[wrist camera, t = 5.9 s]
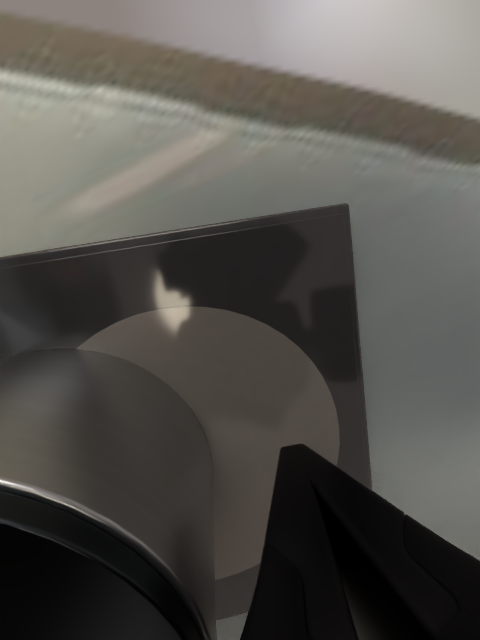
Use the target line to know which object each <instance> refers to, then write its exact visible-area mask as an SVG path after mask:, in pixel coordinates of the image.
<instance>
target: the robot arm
mask: <svg viewBox="0 0 480 640" xmlns="http://www.w3.org/2000/svg"><path fill="white" fill-rule="evenodd" d="M240 640H480V561H479V560H477V559H476V558H474V557H472V556H471V555H469V554H467V553H466V552H464V551H462V550H461V549H459V548H457V547H456V546H454V545H452V544H451V543H449V542H447V541H446V540H444V539H443V538H441V537H440V536H438V535H437V534H435V533H434V532H432V531H431V530H429V529H428V528H426V527H425V526H423V525H421V524H420V523H419V522H417V521H416V520H414V519H413V518H411V517H410V516H408V515H404V513H403V512H402V511H401V510H399V509H398V508H396V507H395V506H394V505H392V504H391V503H389V502H388V501H386V500H385V499H383V498H382V497H380V496H379V495H378V494H376V493H375V492H373V491H372V490H370V489H369V488H367V487H366V486H364V485H363V484H361V483H360V482H359V481H357V480H356V479H354V478H353V477H351V476H350V475H348V474H347V473H345V472H344V471H343V470H341V469H340V468H338V467H337V466H335V465H334V464H332V463H331V462H329V461H328V460H326V459H325V458H324V457H322V456H321V455H319V454H318V453H316V452H315V451H313V450H312V449H310V448H309V447H308V446H306V445H305V444H302V443H300V444H295V445H290V446H285V447H281V449H280V453H279V459H278V465H277V471H276V477H275V483H274V489H273V494H272V500H271V506H270V512H269V518H268V524H267V530H266V536H265V542H264V547H263V552H262V558H261V563H260V568H259V573H258V578H257V583H256V587H255V591H254V594H253V598H252V602H251V605H250V609H249V613H248V616H247V619H246V622H245V626H244V629H243V632H242V635H241V639H240Z"/></svg>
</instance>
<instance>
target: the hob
mask: <svg viewBox="0 0 480 640" xmlns="http://www.w3.org/2000/svg"><path fill="white" fill-rule="evenodd" d="M50 349H75V350H86V351H93V352H98V353H102V354H107V355H111V356H114V357H117V358H120V359H123V360H126V361H129V362H131V363H133V364H135V365H137V366H139V367H141V368H143V369H145V370H147V371H149V372H150V373H152V374H153V375H155V376H157V377H158V378H160V379H161V380H163V381H164V382H165V383H166V384H167V385H169V386H170V387H171V388H172V389H173V390H174V391H176V392H177V393H178V395H179V396H180V397H181V398H182V399H183V400H184V401H185V402H186V403H187V405H188V406H189V407H190V409H191V410H192V412H193V413H194V415H195V416H196V418H197V419H198V421H199V423H200V425H201V427H202V429H203V431H204V433H205V436H206V439H207V442H208V446H209V449H210V455H211V461H212V483H213V520H214V558H215V596H216V620H219V619H222V618H226V617H230V616H234V615H238V614H241V613H245V612H249V609H250V605H251V602H252V598H253V594H254V591H255V587H256V583H257V578H258V573H259V568H260V563H261V558H262V552H263V547H264V542H265V536H266V530H267V524H268V518H269V512H270V506H271V500H272V494H273V489H274V483H275V477H276V471H277V465H278V459H279V453H280V449H281V447H285V446H290V445H295V444H300V443H302V444H305V445H306V446H308V447H309V448H310V449H312V450H313V451H315V452H316V453H318V454H319V455H321V456H322V457H324V458H325V459H326V460H328V461H329V462H331V463H332V464H334V465H335V466H337V467H338V468H340V469H341V470H343V471H344V472H345V473H347V474H348V475H350V476H351V477H353V478H354V479H356V480H357V481H359V482H360V483H361V484H363V485H364V486H366V487H367V488H369V489H370V490H372V482H371V470H370V458H369V446H368V434H367V422H366V409H365V397H364V385H363V373H362V361H361V349H360V336H359V324H358V312H357V300H356V288H355V276H354V263H353V251H352V239H351V227H350V215H349V205H348V204H346V203H344V204H337V205H331V206H325V207H318V208H312V209H306V210H299V211H293V212H286V213H280V214H274V215H267V216H261V217H254V218H248V219H242V220H235V221H229V222H222V223H216V224H210V225H203V226H197V227H191V228H184V229H178V230H171V231H165V232H159V233H152V234H146V235H139V236H133V237H127V238H120V239H114V240H108V241H101V242H95V243H88V244H82V245H76V246H69V247H63V248H56V249H50V250H44V251H37V252H31V253H24V254H18V255H12V256H5V257H0V361H3V360H5V359H8V358H10V357H14V356H18V355H21V354H25V353H29V352H36V351H43V350H50Z"/></svg>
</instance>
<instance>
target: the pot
mask: <svg viewBox="0 0 480 640" xmlns="http://www.w3.org/2000/svg"><path fill="white" fill-rule="evenodd" d="M0 640H217V634H216V596H215V558H214V520H213V483H212V461H211V455H210V449H209V446H208V442H207V439H206V436H205V433H204V431H203V429H202V427H201V425H200V423H199V421H198V419H197V418H196V416H195V415H194V413H193V412H192V410H191V409H190V407H189V406H188V405H187V403H186V402H185V401H184V400H183V399H182V398H181V397H180V396H179V395H178V393H177V392H176V391H174V390H173V389H172V388H171V387H170V386H169V385H167V384H166V383H165V382H164V381H163V380H161V379H160V378H158V377H157V376H155V375H153V374H152V373H150V372H149V371H147V370H145V369H143V368H141V367H139V366H137V365H135V364H133V363H131V362H129V361H126V360H123V359H120V358H117V357H114V356H111V355H107V354H102V353H98V352H93V351H86V350H75V349H50V350H43V351H36V352H29V353H25V354H21V355H18V356H14V357H10V358H8V359H5V360H3V361H0Z"/></svg>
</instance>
